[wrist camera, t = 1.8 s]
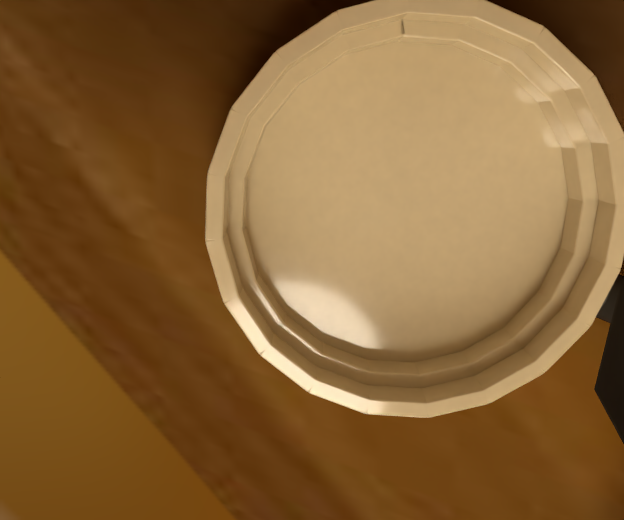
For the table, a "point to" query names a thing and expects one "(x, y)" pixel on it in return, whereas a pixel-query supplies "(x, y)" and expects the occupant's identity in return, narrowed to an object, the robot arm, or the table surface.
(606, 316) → the pan handle
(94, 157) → the table surface
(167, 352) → the table surface
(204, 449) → the table surface
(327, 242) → the pan
